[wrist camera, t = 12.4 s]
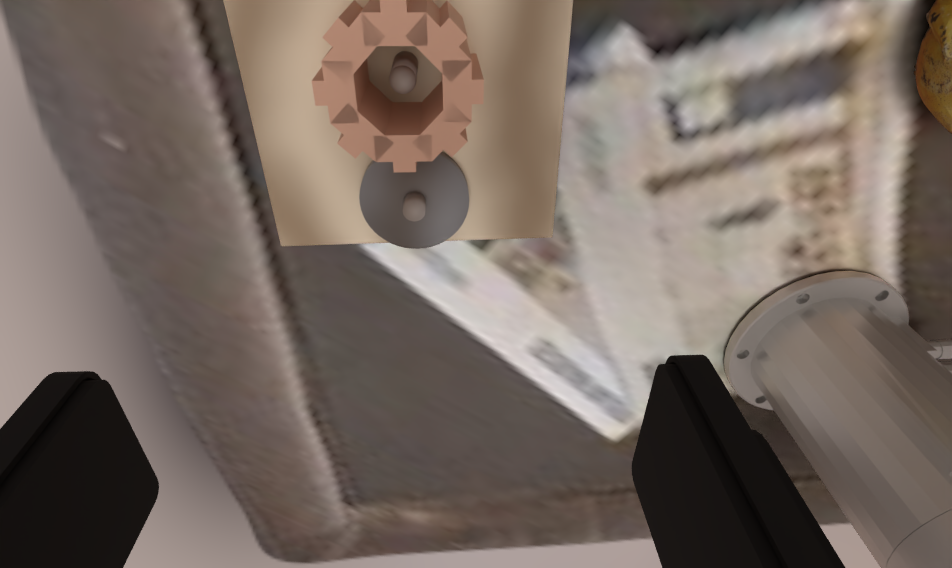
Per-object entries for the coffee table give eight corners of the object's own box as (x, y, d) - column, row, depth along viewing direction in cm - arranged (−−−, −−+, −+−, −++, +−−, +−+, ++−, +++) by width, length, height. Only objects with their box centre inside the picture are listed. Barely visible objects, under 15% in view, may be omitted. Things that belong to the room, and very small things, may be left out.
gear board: (585, -204, 22) (616, -227, 18) (549, 229, 34) (563, 269, 30) (183, -207, 21) (129, -232, 18) (285, 237, 33) (265, 280, 29)
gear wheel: (476, -17, 25) (485, -2, 21) (475, 133, 29) (482, 170, 25) (321, -17, 24) (298, -3, 20) (341, 135, 28) (326, 173, 24)
